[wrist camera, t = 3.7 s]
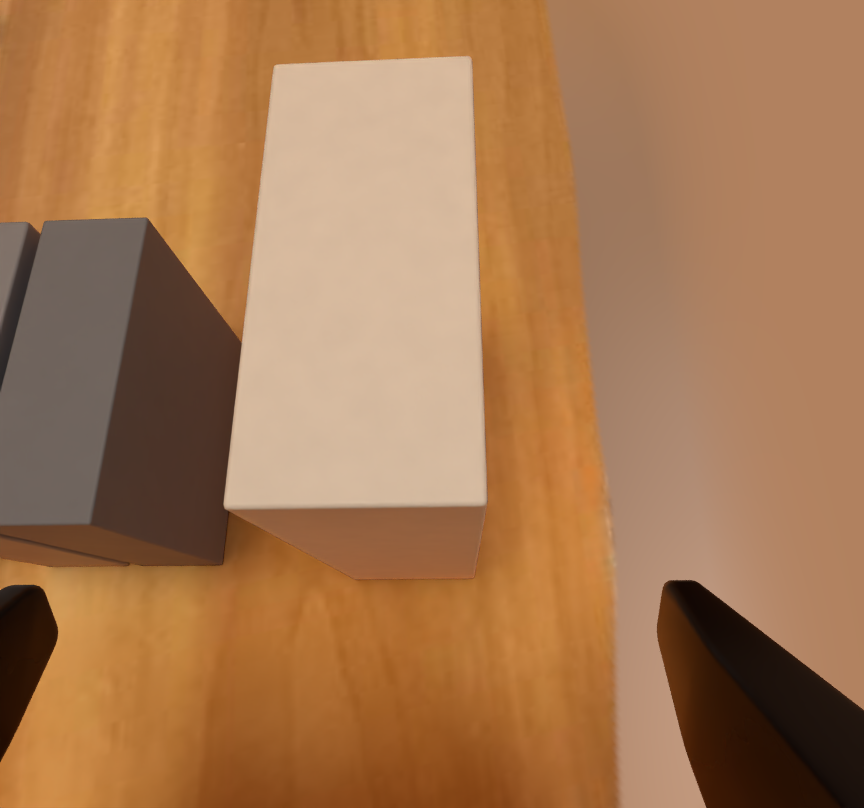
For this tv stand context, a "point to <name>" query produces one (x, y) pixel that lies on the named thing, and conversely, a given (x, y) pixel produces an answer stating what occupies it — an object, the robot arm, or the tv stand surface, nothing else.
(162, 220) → the tv stand surface
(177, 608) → the tv stand surface
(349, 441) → the beige rectangular block
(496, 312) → the tv stand surface
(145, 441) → the grey books
